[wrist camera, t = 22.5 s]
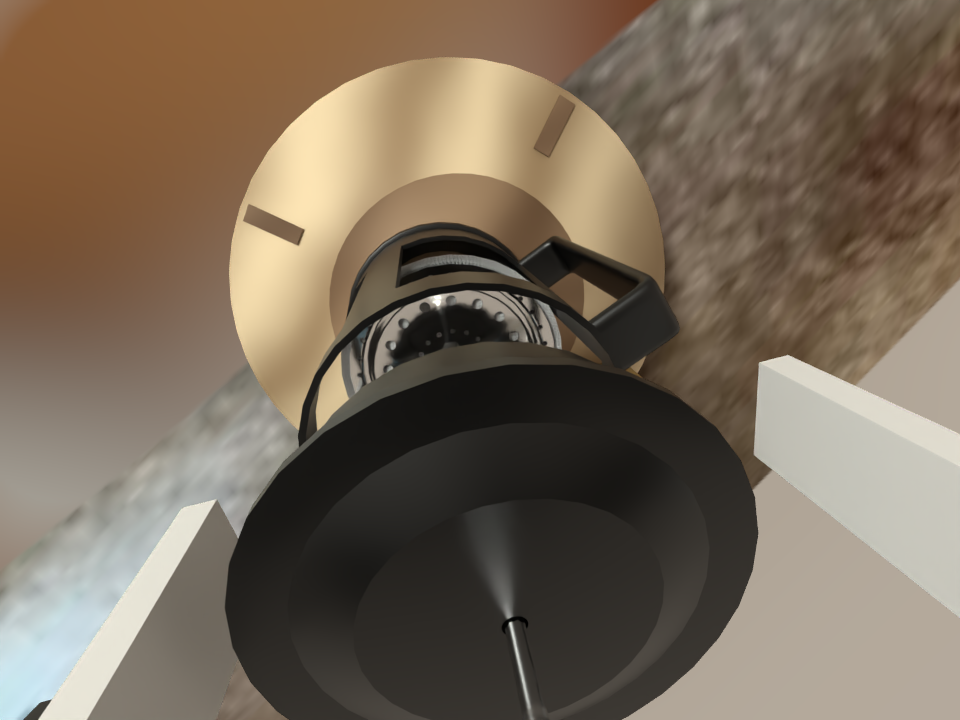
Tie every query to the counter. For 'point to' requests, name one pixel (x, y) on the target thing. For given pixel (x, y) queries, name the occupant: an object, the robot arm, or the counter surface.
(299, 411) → the turntable
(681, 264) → the counter surface
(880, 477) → the robot arm
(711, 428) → the french press
